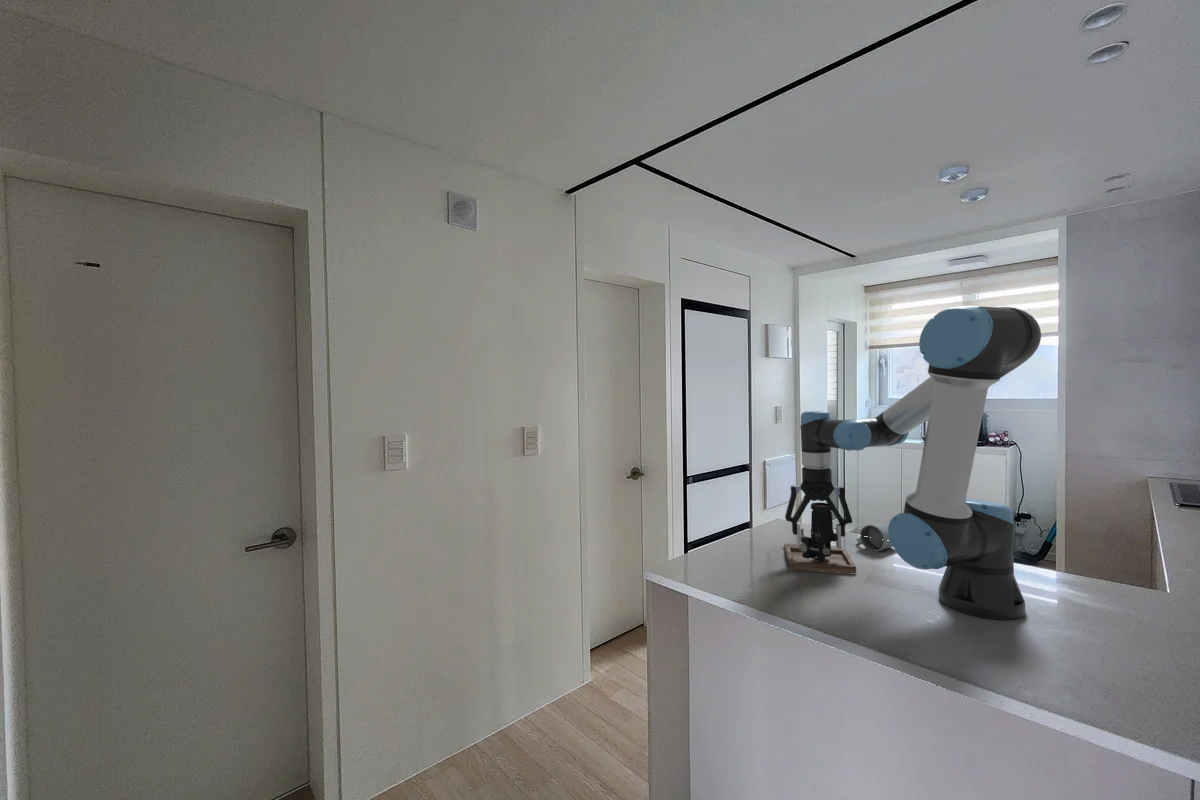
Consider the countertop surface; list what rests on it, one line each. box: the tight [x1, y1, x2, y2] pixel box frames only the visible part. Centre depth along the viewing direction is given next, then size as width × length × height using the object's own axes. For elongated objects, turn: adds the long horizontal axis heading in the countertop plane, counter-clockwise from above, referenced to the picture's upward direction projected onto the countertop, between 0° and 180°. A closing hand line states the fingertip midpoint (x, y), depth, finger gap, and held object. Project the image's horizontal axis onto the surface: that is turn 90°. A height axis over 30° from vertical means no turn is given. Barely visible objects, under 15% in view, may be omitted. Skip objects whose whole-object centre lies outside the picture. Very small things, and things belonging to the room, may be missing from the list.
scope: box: [799, 502, 838, 561], centre depth 137 cm, size 8×14×10 cm
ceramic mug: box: [856, 523, 894, 552], centre depth 149 cm, size 11×8×8 cm
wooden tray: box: [784, 543, 857, 574], centre depth 140 cm, size 20×16×2 cm
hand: (818, 546), depth 137 cm, fingers closed on scope, 10 cm apart
